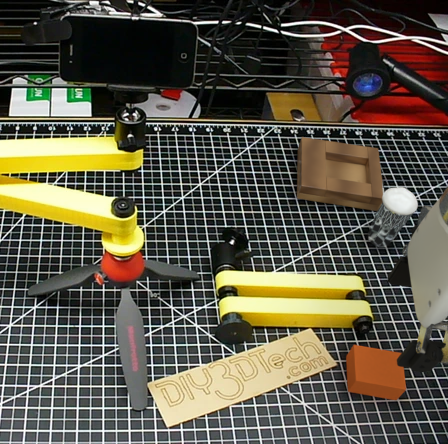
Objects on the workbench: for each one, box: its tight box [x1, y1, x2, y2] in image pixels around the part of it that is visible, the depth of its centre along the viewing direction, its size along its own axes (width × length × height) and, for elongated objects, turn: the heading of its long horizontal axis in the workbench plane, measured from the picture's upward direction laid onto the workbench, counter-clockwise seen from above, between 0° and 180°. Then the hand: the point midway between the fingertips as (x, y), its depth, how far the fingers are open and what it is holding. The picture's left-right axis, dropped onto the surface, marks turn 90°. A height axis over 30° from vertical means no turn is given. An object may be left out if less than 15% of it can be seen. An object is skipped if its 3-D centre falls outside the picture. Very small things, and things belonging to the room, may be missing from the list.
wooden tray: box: [296, 136, 383, 212], centre depth 89 cm, size 12×11×3 cm
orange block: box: [345, 344, 407, 401], centre depth 67 cm, size 6×5×3 cm
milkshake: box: [367, 180, 419, 248], centre depth 79 cm, size 5×5×10 cm
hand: (406, 322), depth 59 cm, fingers open, 9 cm apart
